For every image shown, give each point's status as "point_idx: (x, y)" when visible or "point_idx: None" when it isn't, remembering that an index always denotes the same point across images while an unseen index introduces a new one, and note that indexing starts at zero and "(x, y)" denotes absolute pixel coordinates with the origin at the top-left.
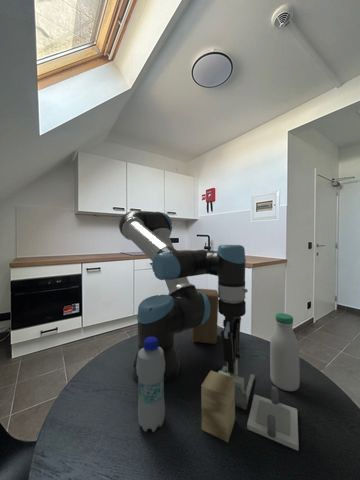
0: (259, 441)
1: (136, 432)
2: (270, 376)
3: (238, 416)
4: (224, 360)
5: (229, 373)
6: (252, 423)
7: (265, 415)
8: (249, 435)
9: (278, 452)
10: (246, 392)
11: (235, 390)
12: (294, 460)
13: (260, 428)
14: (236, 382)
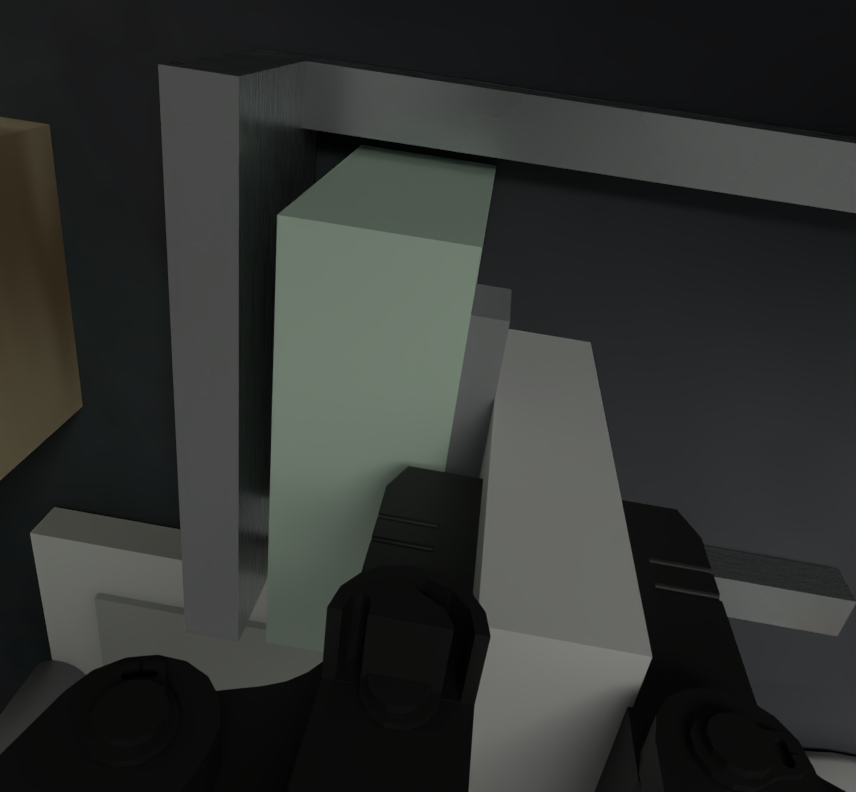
0: (8, 579)
1: None
2: (829, 780)
3: (142, 436)
4: (57, 701)
5: (484, 451)
6: (70, 571)
7: (207, 673)
8: (9, 519)
9: (10, 671)
10: (223, 637)
11: (184, 520)
12: None
13: (62, 621)
14: (271, 568)
